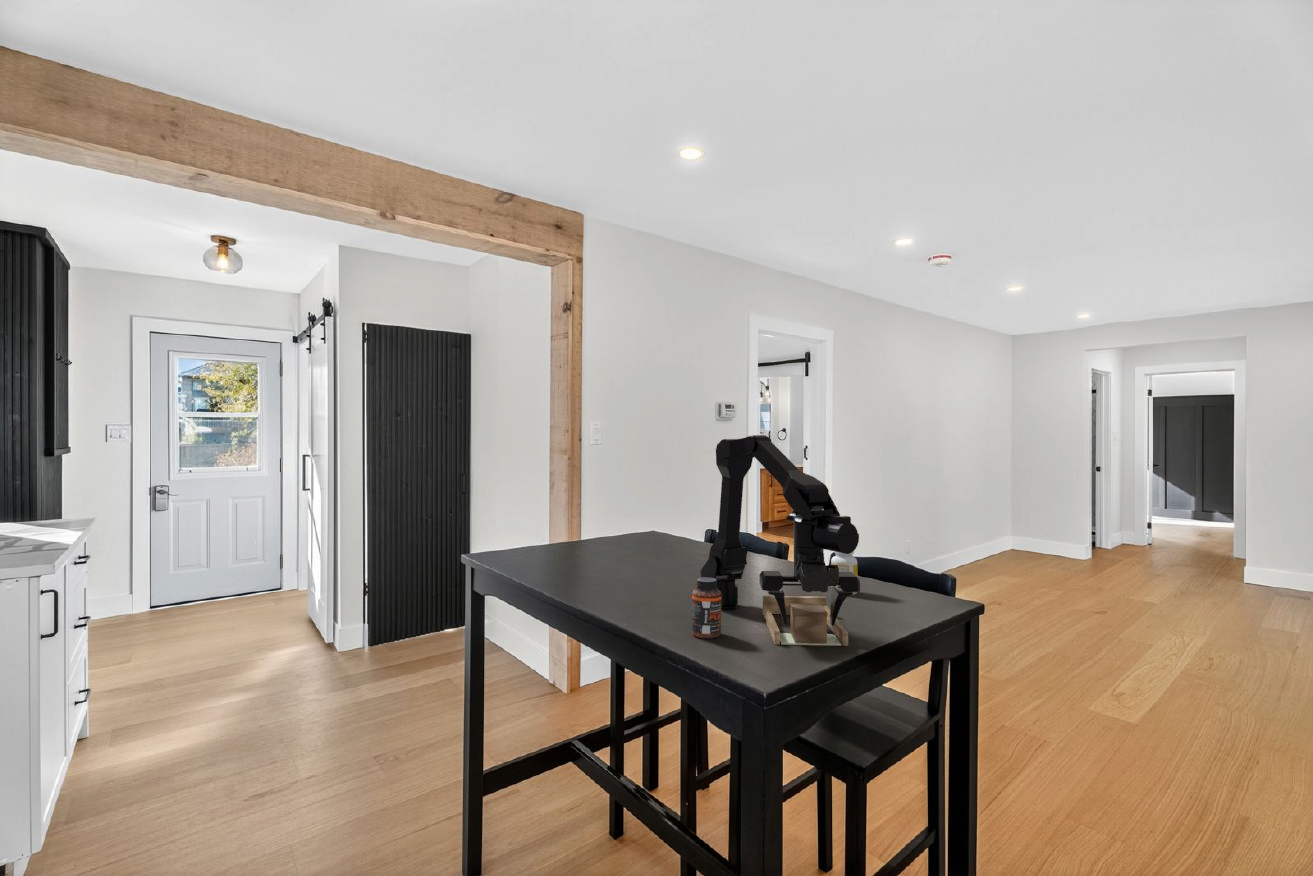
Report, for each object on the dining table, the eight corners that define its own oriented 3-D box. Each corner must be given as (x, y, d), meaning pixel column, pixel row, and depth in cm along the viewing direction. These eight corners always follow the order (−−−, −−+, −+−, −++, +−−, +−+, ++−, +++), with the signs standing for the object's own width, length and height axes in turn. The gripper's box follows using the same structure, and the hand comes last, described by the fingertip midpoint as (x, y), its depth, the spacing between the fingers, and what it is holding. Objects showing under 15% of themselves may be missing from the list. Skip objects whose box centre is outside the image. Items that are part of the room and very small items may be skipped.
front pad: (781, 644, 120) (781, 642, 120) (777, 634, 126) (777, 633, 126) (841, 645, 119) (841, 644, 119) (834, 635, 125) (834, 634, 125)
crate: (794, 643, 119) (794, 612, 119) (789, 633, 126) (789, 603, 126) (827, 643, 119) (827, 612, 119) (820, 633, 125) (820, 604, 125)
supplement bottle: (713, 641, 121) (713, 584, 121) (686, 636, 125) (686, 580, 125) (726, 633, 126) (726, 578, 126) (700, 628, 130) (700, 574, 130)
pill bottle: (854, 590, 162) (854, 545, 162) (860, 596, 156) (860, 550, 156) (829, 589, 163) (829, 545, 163) (833, 595, 156) (833, 549, 156)
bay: (774, 644, 120) (774, 623, 120) (762, 613, 141) (762, 595, 141) (848, 645, 119) (848, 624, 119) (825, 614, 140) (825, 596, 140)
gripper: (765, 552, 115) (765, 637, 115) (868, 554, 114) (868, 639, 114) (759, 542, 126) (759, 619, 126) (852, 543, 125) (852, 621, 125)
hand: (808, 624), depth 122 cm, fingers open, 9 cm apart
